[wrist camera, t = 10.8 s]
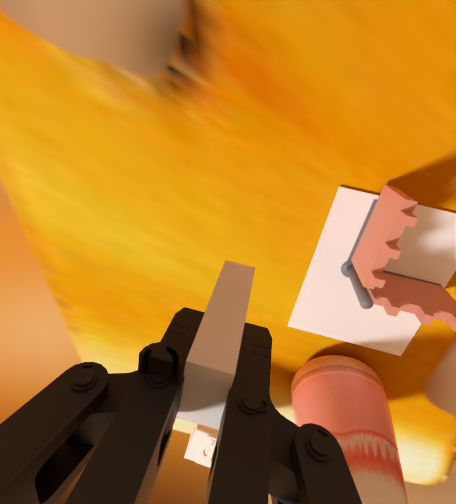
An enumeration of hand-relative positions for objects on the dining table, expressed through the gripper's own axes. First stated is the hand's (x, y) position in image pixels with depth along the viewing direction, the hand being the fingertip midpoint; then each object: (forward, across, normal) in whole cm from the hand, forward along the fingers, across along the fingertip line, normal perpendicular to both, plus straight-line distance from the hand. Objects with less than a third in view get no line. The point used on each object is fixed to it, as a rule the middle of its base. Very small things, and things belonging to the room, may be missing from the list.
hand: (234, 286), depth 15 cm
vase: (+26, +20, -30) cm, 45 cm away
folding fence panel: (+26, +21, -9) cm, 35 cm away
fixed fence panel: (+26, +15, -4) cm, 30 cm away
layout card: (+26, +18, -10) cm, 34 cm away
